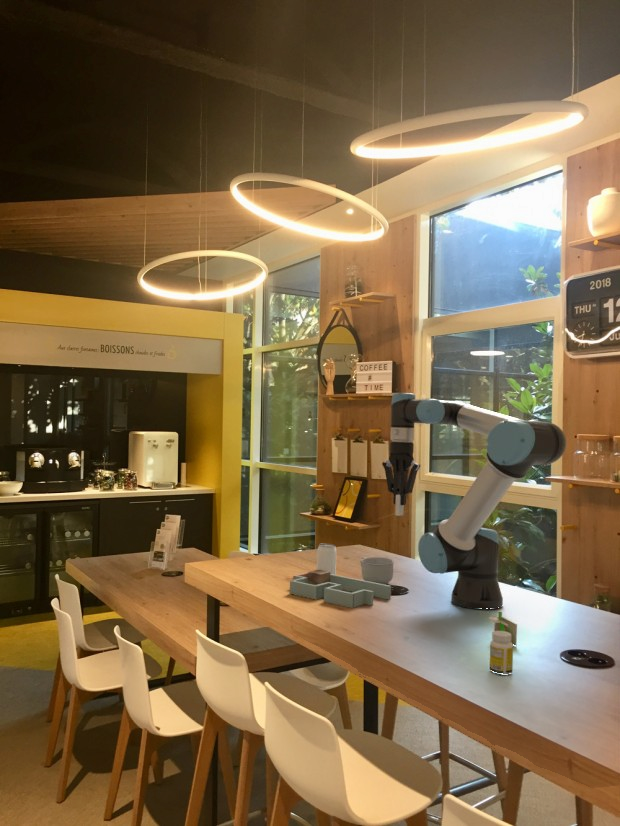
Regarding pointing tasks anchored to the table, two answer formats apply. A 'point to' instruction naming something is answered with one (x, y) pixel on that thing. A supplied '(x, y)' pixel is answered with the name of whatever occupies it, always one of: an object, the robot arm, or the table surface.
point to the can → (326, 558)
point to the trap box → (333, 593)
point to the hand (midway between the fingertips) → (399, 515)
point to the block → (318, 577)
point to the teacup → (377, 569)
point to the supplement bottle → (501, 652)
